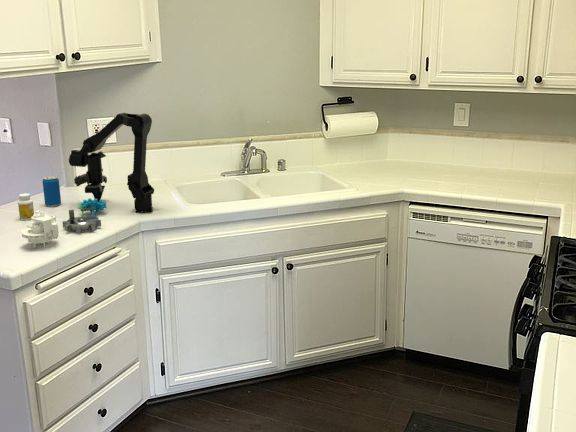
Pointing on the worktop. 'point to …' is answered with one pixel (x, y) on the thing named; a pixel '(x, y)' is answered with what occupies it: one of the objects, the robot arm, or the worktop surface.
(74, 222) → the sprocket
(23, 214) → the supplement bottle
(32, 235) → the mechanical part
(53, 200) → the beverage can
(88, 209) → the gear
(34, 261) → the worktop surface
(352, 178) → the worktop surface
